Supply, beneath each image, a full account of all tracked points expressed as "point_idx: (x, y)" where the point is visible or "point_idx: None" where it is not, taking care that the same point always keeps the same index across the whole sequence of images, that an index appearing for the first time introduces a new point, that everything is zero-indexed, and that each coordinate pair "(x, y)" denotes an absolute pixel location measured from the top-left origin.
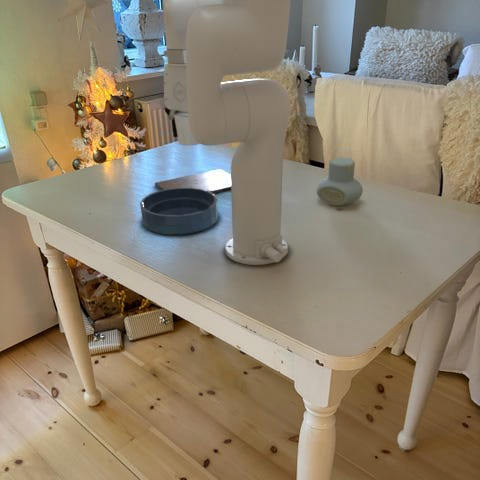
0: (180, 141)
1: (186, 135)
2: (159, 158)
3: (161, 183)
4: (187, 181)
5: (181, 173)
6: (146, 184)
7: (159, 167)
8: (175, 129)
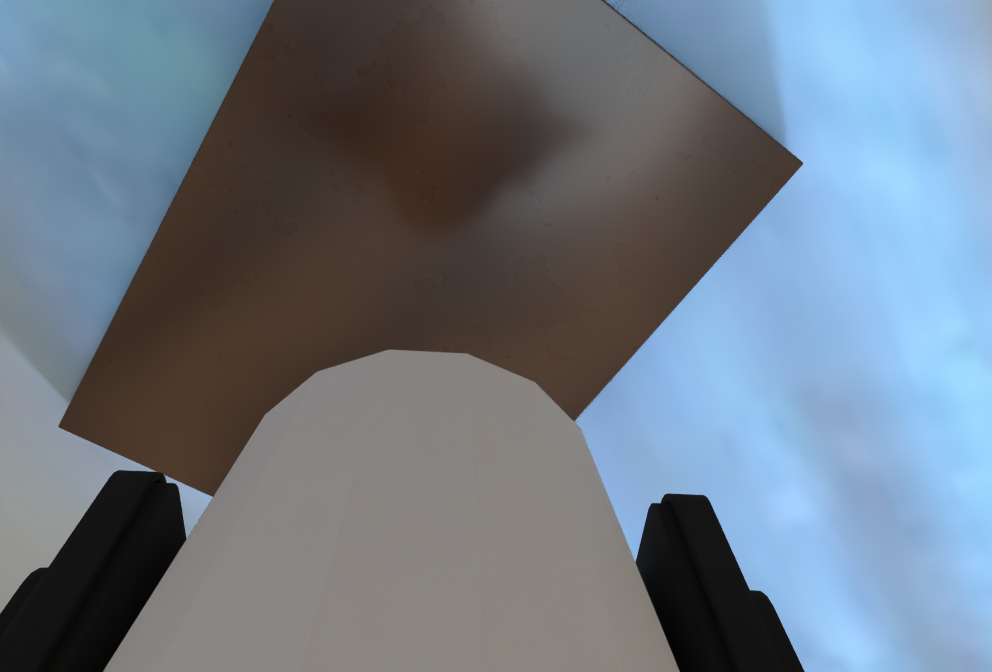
0: (504, 392)
1: (327, 454)
2: (961, 647)
3: (733, 168)
4: (525, 296)
5: (690, 475)
6: (888, 170)
7: (905, 520)
8: (688, 605)
